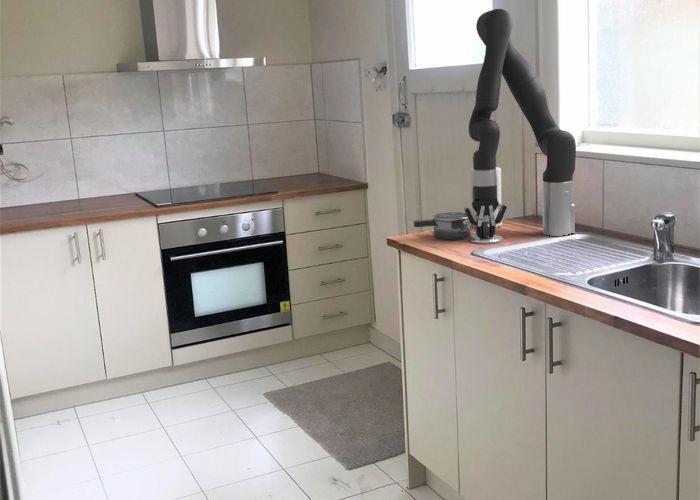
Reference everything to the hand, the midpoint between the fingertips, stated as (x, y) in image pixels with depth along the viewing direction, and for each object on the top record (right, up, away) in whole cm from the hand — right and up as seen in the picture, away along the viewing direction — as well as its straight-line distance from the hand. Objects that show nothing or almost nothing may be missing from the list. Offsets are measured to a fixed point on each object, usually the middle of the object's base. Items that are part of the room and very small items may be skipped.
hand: (485, 237), depth 248 cm
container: (+4, +4, +22) cm, 23 cm away
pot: (-13, 0, +7) cm, 15 cm away
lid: (0, -1, 0) cm, 1 cm away
